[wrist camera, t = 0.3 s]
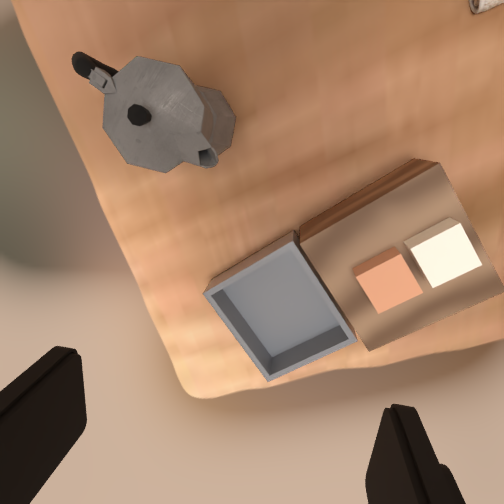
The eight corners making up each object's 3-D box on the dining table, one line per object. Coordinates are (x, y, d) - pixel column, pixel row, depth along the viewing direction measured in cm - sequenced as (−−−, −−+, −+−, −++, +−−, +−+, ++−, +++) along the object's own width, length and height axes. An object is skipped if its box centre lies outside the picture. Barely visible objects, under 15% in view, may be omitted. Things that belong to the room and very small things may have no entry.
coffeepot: (264, 123, 42) (239, 113, 25) (223, 185, 45) (176, 213, 28) (161, 45, 40) (61, -22, 24) (126, 114, 44) (16, 99, 27)
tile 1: (352, 268, 38) (355, 277, 35) (394, 246, 36) (400, 253, 34) (373, 303, 39) (378, 314, 36) (415, 283, 37) (423, 292, 35)
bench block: (299, 226, 45) (299, 244, 38) (414, 158, 40) (439, 162, 33) (358, 318, 48) (369, 351, 41) (470, 264, 44) (506, 291, 36)
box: (212, 278, 49) (202, 293, 45) (293, 230, 45) (292, 240, 41) (270, 360, 52) (268, 382, 48) (352, 321, 48) (357, 341, 44)
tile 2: (403, 241, 36) (410, 248, 34) (449, 217, 34) (460, 222, 32) (424, 278, 37) (432, 288, 35) (470, 256, 35) (482, 264, 33)
